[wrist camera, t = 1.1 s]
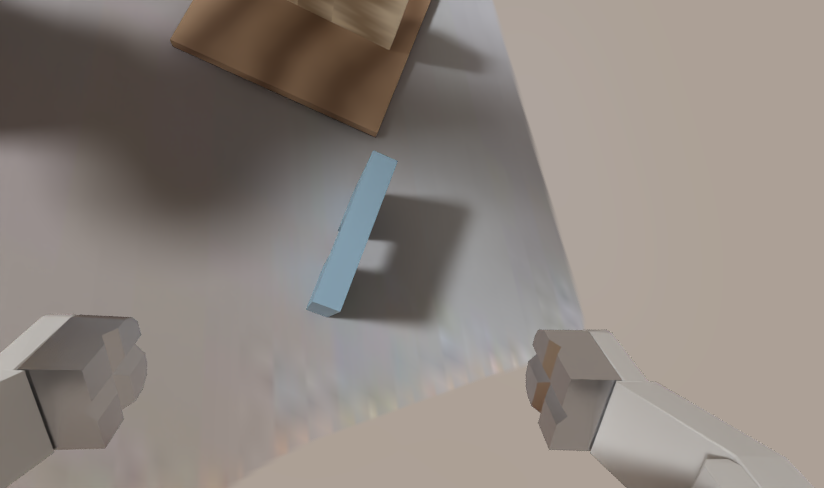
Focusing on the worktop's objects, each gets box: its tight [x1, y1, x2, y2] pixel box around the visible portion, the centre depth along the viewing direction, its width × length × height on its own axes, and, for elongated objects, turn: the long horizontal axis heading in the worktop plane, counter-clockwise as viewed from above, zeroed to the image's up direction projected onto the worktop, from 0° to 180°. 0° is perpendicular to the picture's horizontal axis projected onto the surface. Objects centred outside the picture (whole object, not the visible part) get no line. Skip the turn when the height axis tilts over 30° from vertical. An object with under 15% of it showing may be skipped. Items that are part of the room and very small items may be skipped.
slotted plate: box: [306, 150, 398, 317], centre depth 37 cm, size 12×2×10 cm, turn 161°
